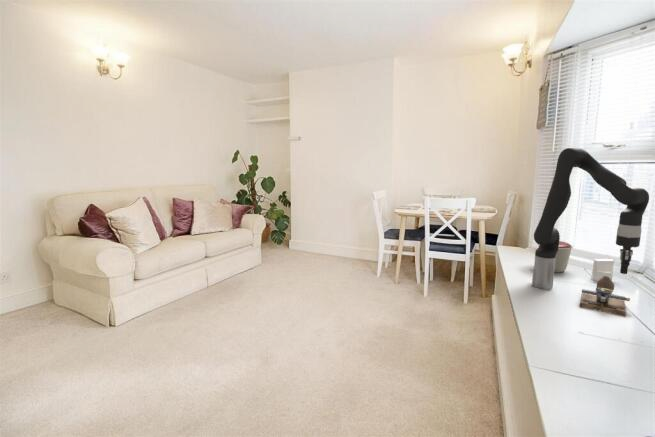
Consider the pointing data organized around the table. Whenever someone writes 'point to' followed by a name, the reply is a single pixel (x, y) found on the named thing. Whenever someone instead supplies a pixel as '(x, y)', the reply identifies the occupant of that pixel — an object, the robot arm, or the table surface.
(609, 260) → the base with upright slab
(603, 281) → the vase
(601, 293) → the capstan
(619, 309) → the stand
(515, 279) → the table surface
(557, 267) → the canister
